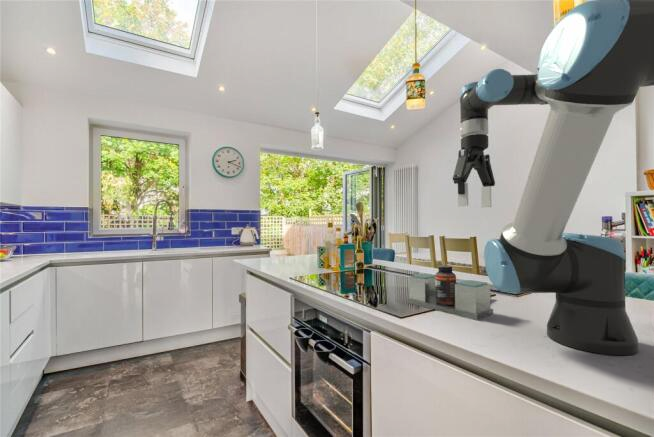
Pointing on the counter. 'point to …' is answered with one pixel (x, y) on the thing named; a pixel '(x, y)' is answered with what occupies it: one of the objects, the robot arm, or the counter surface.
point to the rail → (468, 297)
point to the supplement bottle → (445, 285)
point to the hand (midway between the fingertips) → (475, 206)
